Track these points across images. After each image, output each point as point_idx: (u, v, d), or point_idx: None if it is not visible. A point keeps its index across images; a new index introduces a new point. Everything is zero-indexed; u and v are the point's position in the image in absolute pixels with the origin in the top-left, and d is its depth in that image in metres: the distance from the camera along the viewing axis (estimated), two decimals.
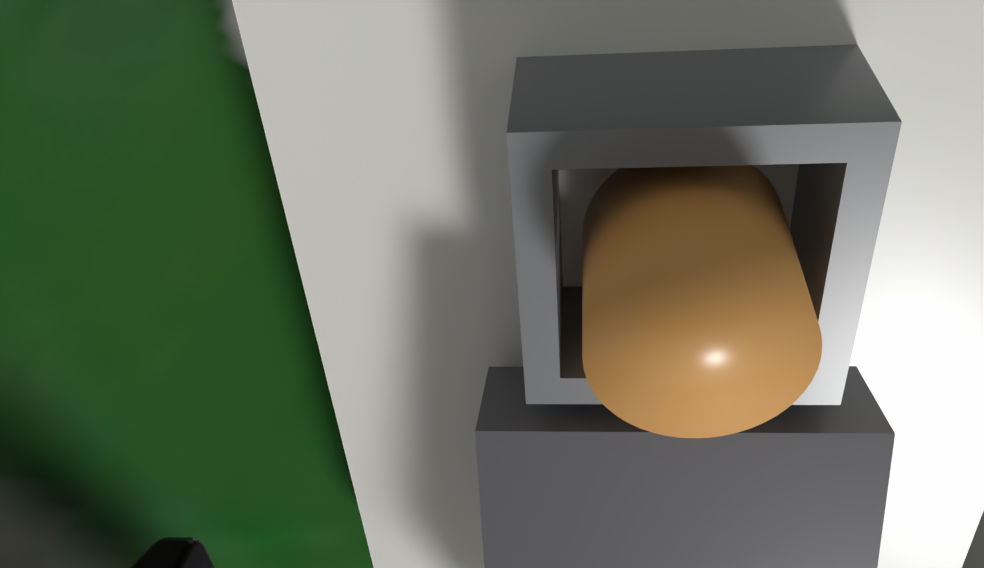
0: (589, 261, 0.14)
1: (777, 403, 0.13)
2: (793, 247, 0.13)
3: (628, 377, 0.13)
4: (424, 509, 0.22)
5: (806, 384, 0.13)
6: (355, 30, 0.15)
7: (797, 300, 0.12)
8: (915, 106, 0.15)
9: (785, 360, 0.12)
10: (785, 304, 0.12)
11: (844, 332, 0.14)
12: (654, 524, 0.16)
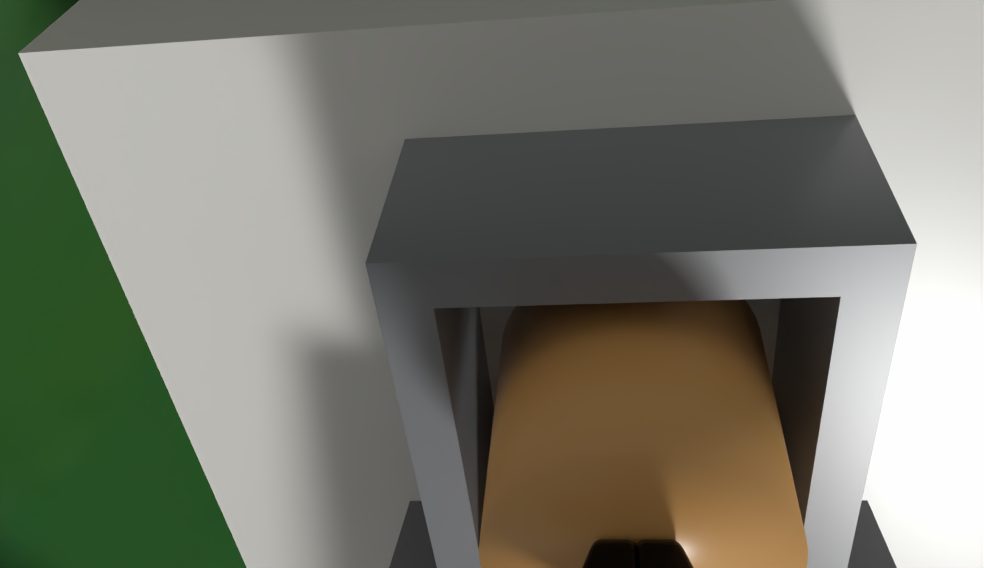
0: (496, 416, 0.10)
1: None
2: (769, 399, 0.10)
3: None
4: None
5: None
6: (191, 110, 0.11)
7: (769, 497, 0.08)
8: (936, 192, 0.11)
9: (757, 567, 0.09)
10: (753, 502, 0.08)
11: (846, 498, 0.11)
12: None
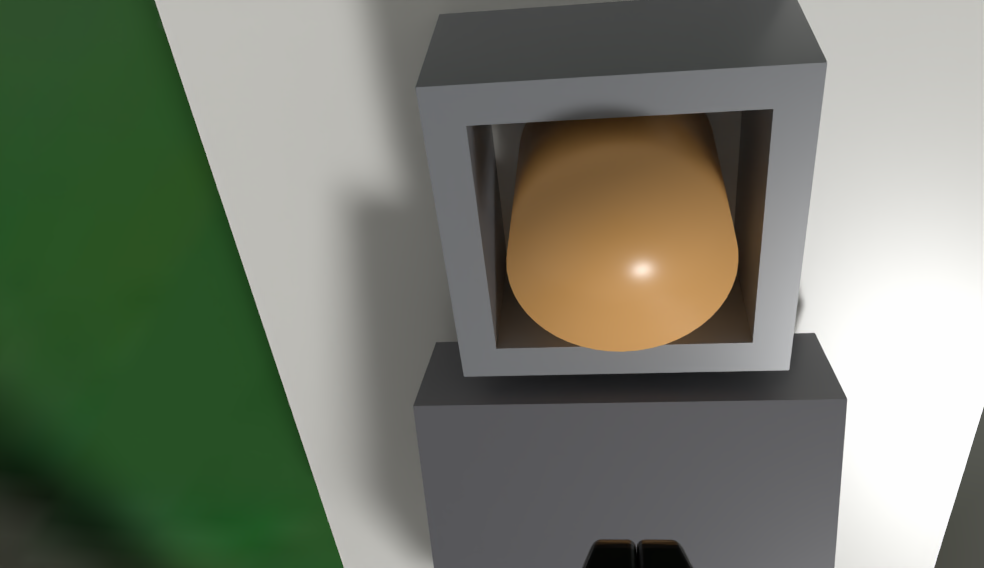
0: (517, 180, 0.14)
1: (700, 312, 0.13)
2: (714, 159, 0.13)
3: (553, 289, 0.13)
4: (385, 493, 0.21)
5: (726, 291, 0.13)
6: None
7: (709, 203, 0.12)
8: (858, 55, 0.14)
9: (704, 266, 0.13)
10: (698, 209, 0.12)
11: (786, 292, 0.14)
12: (602, 500, 0.16)
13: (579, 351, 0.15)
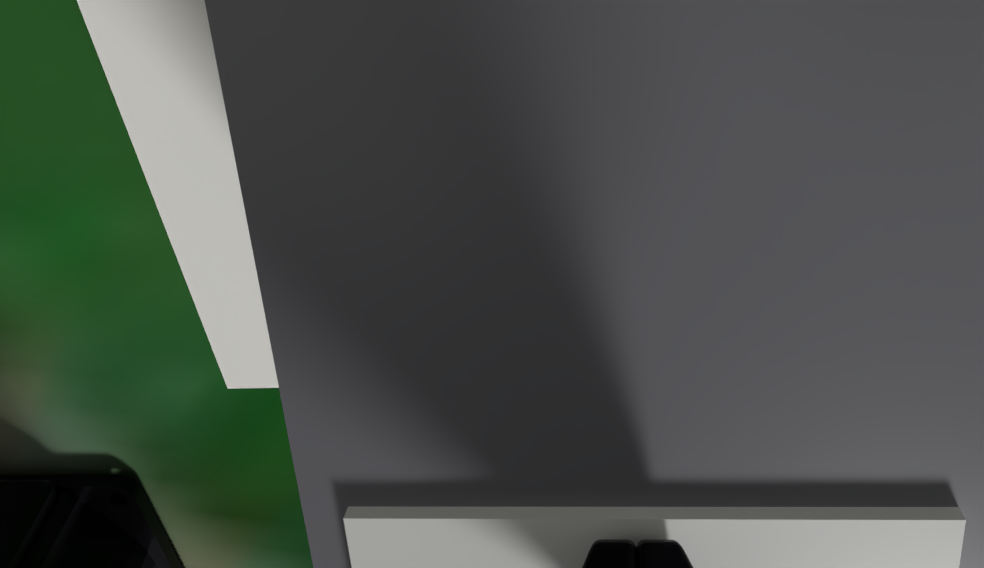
0: None
1: None
2: None
3: None
4: None
5: None
6: None
7: None
8: None
9: None
10: None
11: None
12: None
13: None
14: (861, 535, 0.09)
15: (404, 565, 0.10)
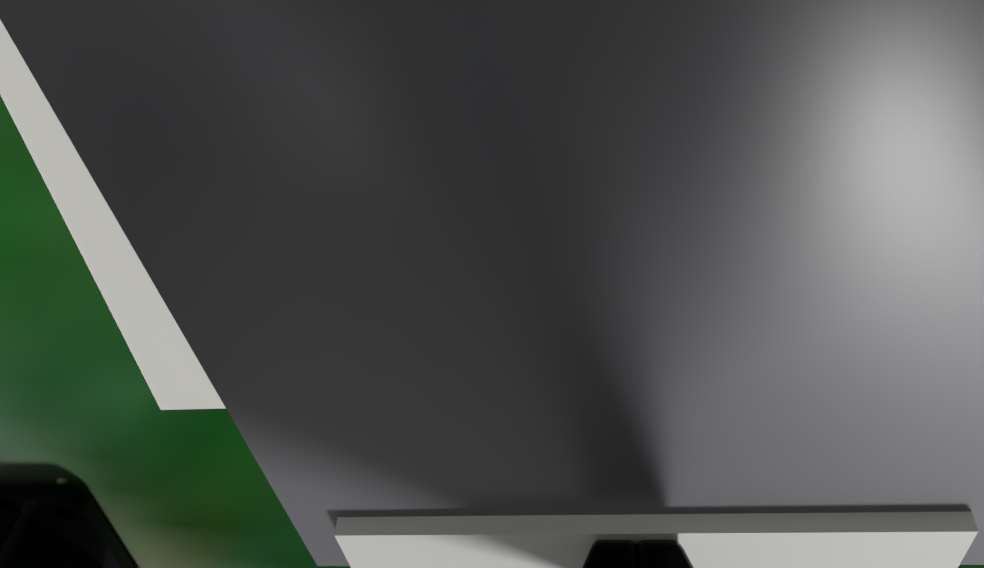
0: None
1: None
2: None
3: None
4: None
5: None
6: None
7: None
8: None
9: None
10: None
11: None
12: None
13: None
14: (868, 541, 0.09)
15: (402, 560, 0.09)
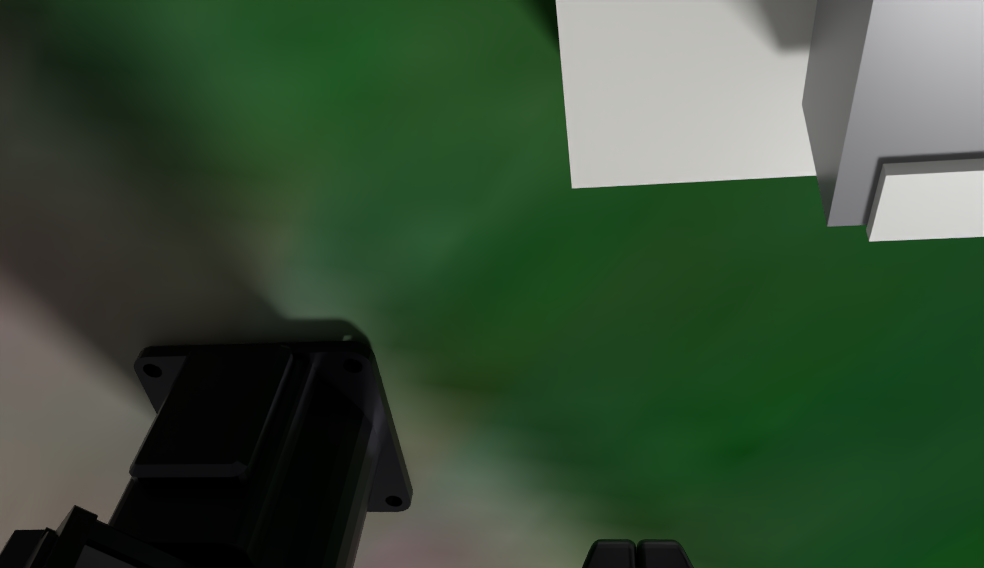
0: None
1: None
2: None
3: None
4: None
5: None
6: None
7: None
8: None
9: None
10: None
11: None
12: None
13: None
14: None
15: (923, 206, 0.11)
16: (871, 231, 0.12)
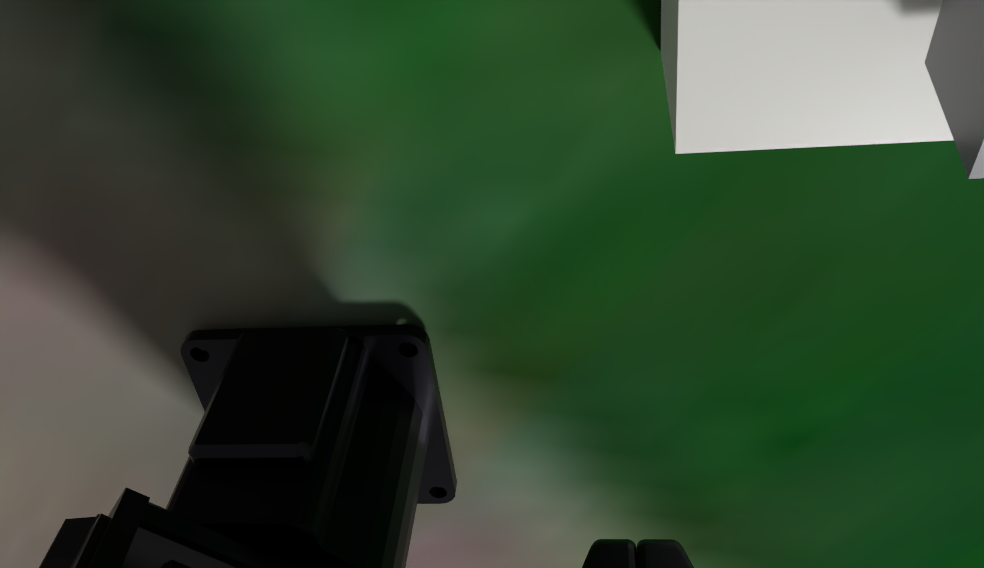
0: None
1: None
2: None
3: None
4: None
5: None
6: None
7: None
8: None
9: None
10: None
11: None
12: None
13: None
14: None
15: None
16: None
